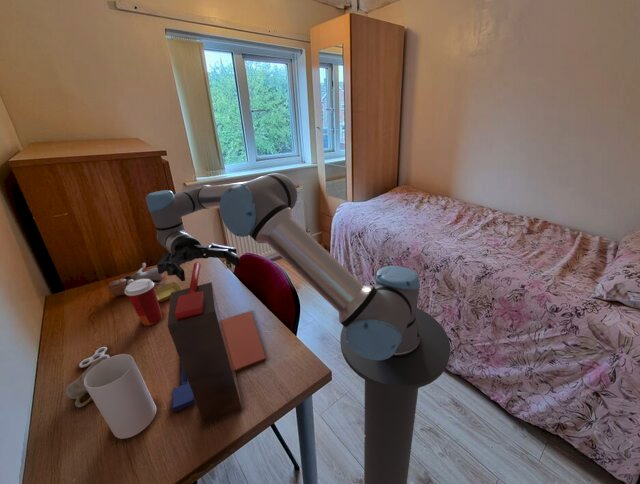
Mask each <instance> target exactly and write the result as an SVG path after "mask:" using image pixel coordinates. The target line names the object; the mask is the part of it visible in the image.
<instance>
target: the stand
mask: <svg viewBox="0 0 640 484" xmlns="http://www.w3.org/2000/svg"><path fill="white" fill-rule="evenodd" d="M189 288H190V287H188V288H185V289H183V288H182V289H183V290H179V291H175V292H172V293H171V294H170V298H169V307H168V317H167V328H168V331H169V333H170V336H171V338H172V341H173V344H174V346H175V347H174V348H175V350H176V352H177V355H178V358H179V360H180V363H181V367H182V366H183V368H184V371H185V374H186V376H187V383H189V384H190V387H191V390H192V393H193V395H194V398H195V404H196V405H197V408H198V412H199V414H200V417H201V419H202V422H203V425H204V426H206V425H208V424H210V423H211V424H212V423H213V422H216V421H217V420H219V419H222V418H224V417H226V416H229V415H231V414H233V413H235V412H238V411H239V410H242V409H243V405H242V400H241V394H240V389H239V383H238V378H237V373H236V372H237V371H235V368H234V364H233V361H232V357H231V353H230V349H229V346H228V342H227V338H226V334H225V331H224V327H223V323H222V320H223V319H222V316H221V312H220V308H219V305H218V304H219V303H218V301H217V298H216V294H215V289H214V286H213V283H212V282H207V283H206V282H205V283H202V284H199V285H197V291H196V292H201V291H203V293H204V304H203V313H201V314H197V315H193V316H189V317H185V318H181V319H176V316H175V310H176V306H177V302H178V298H179V296H182V295H187V294H188V293H189Z"/></svg>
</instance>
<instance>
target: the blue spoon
mask: <svg viewBox="0 0 640 484" xmlns="http://www.w3.org/2000/svg"><path fill="white" fill-rule="evenodd" d="M180 370H181V373H180V374H181V375H180V386H177V387H174V388H173V391H172V410H173V412H174V413H175V412H177V411H180V410H182V409H185V408H187V407H189V406H192V405H194V404H196V401H195V398H194V395H193V393H192V390H191V387H190V384H189V382H188V379H187V376H186V374H185V371H184V368H183V366H182V365H181V369H180Z"/></svg>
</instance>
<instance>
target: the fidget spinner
mask: <svg viewBox="0 0 640 484" xmlns="http://www.w3.org/2000/svg"><path fill="white" fill-rule="evenodd" d="M107 351H108V347H107V346H102V347H99V348H97V349H96V350H95V351H94V354H93V355H92V356H90V357H88V358H84V359H83V360H81V362H79V363H78V367H79V368H81V369H82V368H86V367H87V368H88V367H89V366H90V365H91V364H92V363H93V362H95V361H96V360H98V359H99V358H102V357H106V358H109V357H111V356H110V355H109V354H106V352H107ZM86 362H87V363H86Z"/></svg>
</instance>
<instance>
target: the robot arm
mask: <svg viewBox="0 0 640 484" xmlns="http://www.w3.org/2000/svg"><path fill="white" fill-rule="evenodd" d="M297 201H298V189H297V186H296V184H295V182H294V181H293V180H292V179H291V178H290V177H289V176H287V175H285V174H283V173H278V172H276V173H268V174H266V175H263V176H259V177H257V178H254V179H251V180H248V181H242V182H234V183H226V184H217V185H211V184H204V185H199V186H197V187H194V188H191V189H188V190H184V191H181V192H177V193H174V192H173V191H172V190H169V189H164V190H158V191H152V192H151V193H148V194H147V195H146V196H145V203H146V206H147V210H148V212H149V215H150V217H151V219H152V222H153V224H154V226H155V230H156V240H157V241H158V243H159V245H160V246H161V247H163V248H164V249H166V250H167V251H163V252H162V257H160V260H159V261H158V262H157V263H156V268H158V274H162V273H164V274H165V272H166V273H167V274H166V275H167V276H176V277H177V278H178V279H179V280H180V281H181V282H185V281H186V274H185V269H184V268H183V267H181V265H183V264H186V263H188V262H192V261H194V260H196V259H197V260H199V259H206V260H207V259H209V258H215V259H225V260H226V261H227V262H228V263H230V264H231V265H233V266H234V267H235V268H238V267H240V258H239V256H238V255H237V253H238V252H237V251H238V250H237V247H234V246H233V247H232V246H227V245H221V244H217V243H214V242H210V243H209V245H208V246H207V245H202V244H201V243H200V241H199V240H198V239H197V238H196V237H193V236H192V235H190V234H189V233H187V232H186V230H185V227H184V224H183V220H182V217H185V216H187V215H190V214H193V213H196V212H199V211H202V210H210V209H219V212H220V217H221V219H222V221H223V224H224V226H225V227H226V228H227V230H228V231H229V232H230V233H231V234H233V235H234V236H236V237H240V238H245V237H246V238H247V237H248V236H249V237H250V238H252V239H253V240H254V241H255V242H256V243H257V244H267V245H268V246H269V247H270V248H271V249H272V250H273V251H275V252H276V253H277V254H278V256H280V257H281V258H282V259H283V260H284V261H285V262H286V263H287V264H288V265H289V266H290V267H291V268H292V269H293V271H295V272H296V273H297V274H298V275H299V276H300V277H302V279H304V280H305V282H307V283H308V284H309V285H310V286H311V287H312V288H313V289H314V290H315V291H316V292H317V293H318V294H319V295H320V296H321V297H322V298H323V299H324V300H326V302H327V303H328V304H330V305H331V306H332V307H333V308H334V309H335V311H336V312H338V322H339V323H340V324H341V325H342V327H343V326H344V327H345V328H346V334H345V338H346V340H347V344H348V345H349V347H350V348H351V349H352V350H353V351H354V352H356V353H357V354H358V355H360V356H362V357H364V358H367V359H373V360H385V359H388V358H390V357H394V358H401V357H406V356H409V355H411V354H413V353H414V352H415V351H416V350H417V349H418V347H419V344H420V331H419V328H418V325H417V321H416V312H417V308H418V301H419V291H420V288H421V285H420V277H419V275H418V274H417V273H416V272H415V271H414V270H412V269H410V268H408V267H404V266H399V265H389V266H388V265H387V266H383V267H380V268H379V269H378V270H377V272H376V274H375V277H374V280H375V285H373V284H363V283H361V282H360V281H359V280H358V279H357V278H356V277H355V276H354V275H353V274H352V273H351V272H350V271H349V270H347V268H346V267H345V266H343V265H342V264H341V263H340V262H339V261H338V260H337V259H336V258H335V257H334V256H333V255H332V254H331V253H330V252H329V251H328V250H327V249H325V248H324V247H323V246H322V245H321V244H320V242H318V241H317V240H316V239H315V238H314V237H312V236H311V234H310V233H309V232H308V231H306V229H304V228H303V227H302V226H301V225H300V224H299V223H298V222H297V221H296V220H295V219H294V218H293V208H294V207H295V206H296V203H297Z"/></svg>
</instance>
